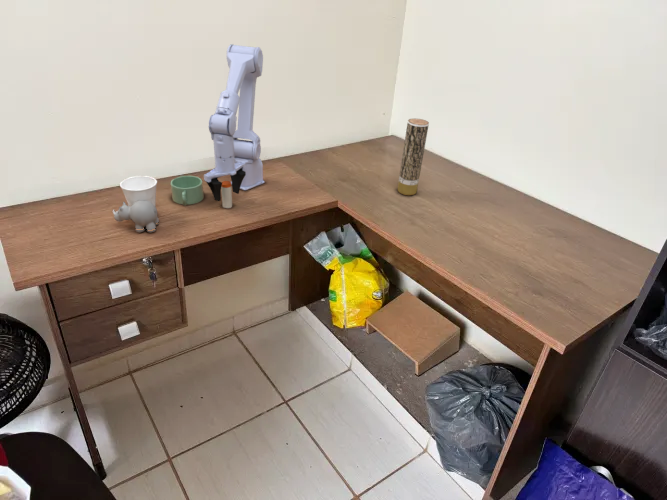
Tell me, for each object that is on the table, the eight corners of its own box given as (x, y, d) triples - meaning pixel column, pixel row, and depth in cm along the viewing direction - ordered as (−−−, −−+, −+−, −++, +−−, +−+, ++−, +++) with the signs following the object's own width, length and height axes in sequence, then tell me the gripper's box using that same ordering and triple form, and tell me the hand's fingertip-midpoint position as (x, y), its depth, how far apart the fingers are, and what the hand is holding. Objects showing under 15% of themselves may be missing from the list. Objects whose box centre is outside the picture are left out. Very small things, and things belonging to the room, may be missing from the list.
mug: (175, 190, 157) (173, 175, 154) (205, 191, 158) (204, 175, 155) (168, 208, 147) (166, 192, 144) (201, 208, 148) (199, 192, 145)
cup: (118, 219, 139) (111, 184, 134) (143, 206, 147) (138, 172, 141) (144, 228, 136) (138, 193, 130) (169, 214, 144) (164, 180, 138)
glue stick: (227, 203, 152) (226, 179, 148) (234, 206, 151) (233, 182, 147) (220, 206, 150) (218, 182, 146) (227, 209, 149) (225, 185, 145)
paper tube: (416, 188, 171) (428, 119, 157) (416, 197, 165) (429, 126, 152) (397, 186, 171) (407, 117, 158) (397, 195, 165) (408, 124, 152)
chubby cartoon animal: (120, 220, 139) (115, 194, 134) (162, 222, 140) (159, 196, 135) (111, 233, 133) (105, 206, 128) (155, 235, 133) (151, 208, 129)
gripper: (213, 165, 135) (217, 208, 142) (251, 152, 144) (253, 193, 152) (197, 158, 138) (201, 200, 145) (236, 146, 148) (237, 186, 155)
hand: (226, 196), depth 149 cm, fingers open, 7 cm apart
